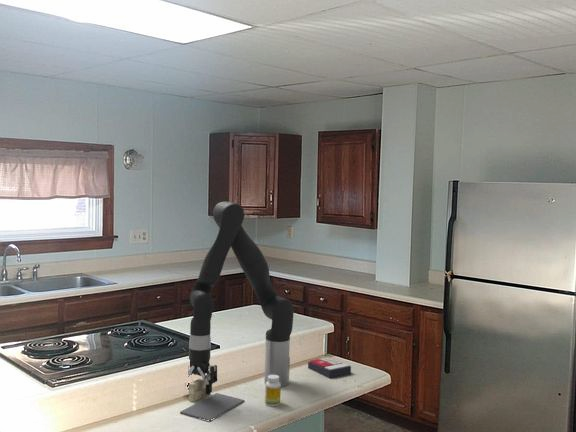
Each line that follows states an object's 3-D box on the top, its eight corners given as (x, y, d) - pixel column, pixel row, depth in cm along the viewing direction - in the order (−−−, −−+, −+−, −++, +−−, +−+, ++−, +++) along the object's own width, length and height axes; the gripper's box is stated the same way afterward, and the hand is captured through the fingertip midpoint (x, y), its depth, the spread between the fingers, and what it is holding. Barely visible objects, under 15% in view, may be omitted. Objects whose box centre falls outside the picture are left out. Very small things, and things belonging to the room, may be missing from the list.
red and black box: (328, 356, 242) (351, 364, 230) (328, 366, 242) (351, 374, 230) (307, 360, 236) (330, 368, 224) (307, 370, 236) (330, 379, 224)
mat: (216, 394, 204) (216, 392, 204) (244, 401, 198) (244, 400, 198) (180, 413, 186) (180, 411, 186) (209, 421, 180) (209, 420, 180)
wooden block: (204, 392, 206) (204, 376, 205) (209, 393, 205) (209, 377, 204) (188, 400, 198) (188, 383, 198) (193, 401, 197) (193, 384, 197)
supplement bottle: (262, 401, 198) (263, 374, 198) (276, 399, 200) (277, 373, 200) (268, 407, 193) (269, 379, 193) (282, 405, 196) (283, 378, 195)
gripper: (222, 347, 200) (221, 392, 201) (190, 340, 207) (189, 384, 208) (209, 352, 193) (208, 399, 194) (177, 345, 200) (175, 390, 201)
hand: (198, 391), depth 201 cm, fingers open, 8 cm apart
